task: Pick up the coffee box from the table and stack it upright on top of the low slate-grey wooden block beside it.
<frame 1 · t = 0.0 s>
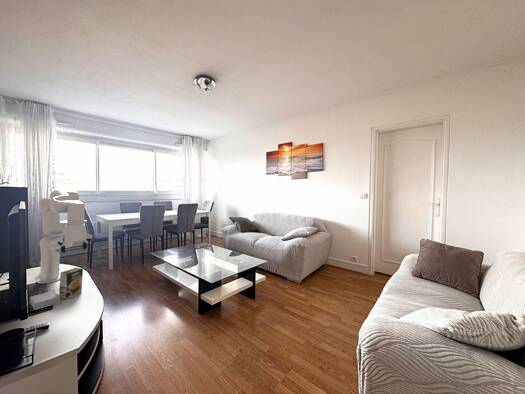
hand: (74, 250, 124), 31 cm above the tv stand, fingers open, 9 cm apart
coffee box: (70, 295, 132), on the tv stand
base block: (44, 304, 120), on the tv stand
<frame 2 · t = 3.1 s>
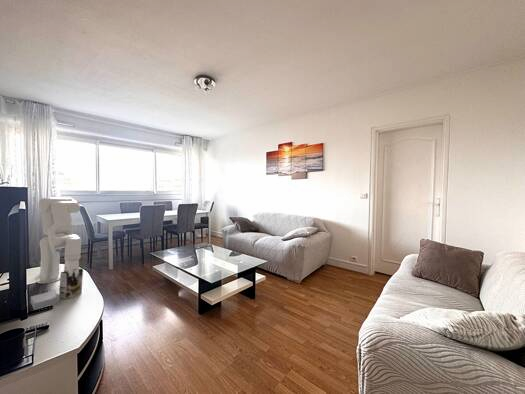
hand: (71, 283, 131), 8 cm above the tv stand, fingers closed on coffee box, 8 cm apart
coffee box: (70, 295, 132), on the tv stand, touching gripper
everything else where it was.
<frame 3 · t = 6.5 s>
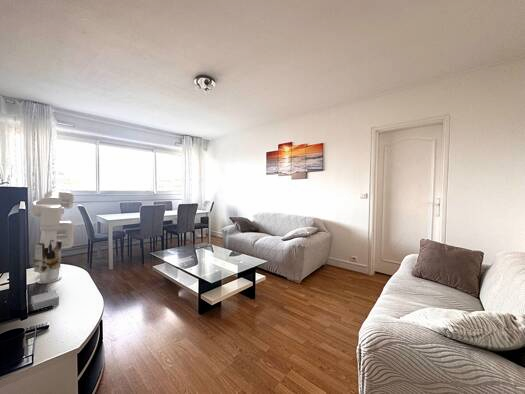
hand: (48, 257, 120), 28 cm above the tv stand, fingers closed on coffee box, 8 cm apart
coffee box: (47, 270, 120), point 20 cm above the tv stand, touching gripper
everything else where it was.
when the fingers open (14 cm above the tv stand, at t = 10.2 s): coffee box drops 1 cm, point 5 cm above the tv stand.
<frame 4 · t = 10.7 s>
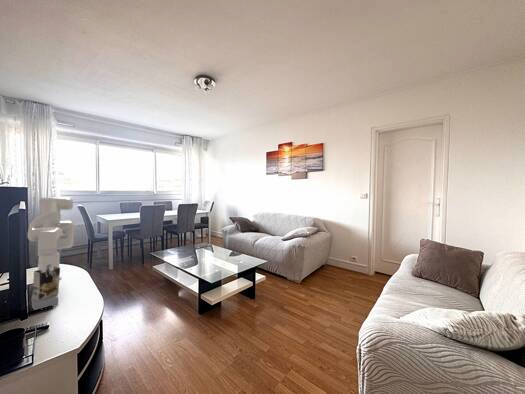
hand: (46, 280, 120), 14 cm above the tv stand, fingers open, 9 cm apart
coffee box: (45, 296, 121), point 5 cm above the tv stand
everything else where it was.
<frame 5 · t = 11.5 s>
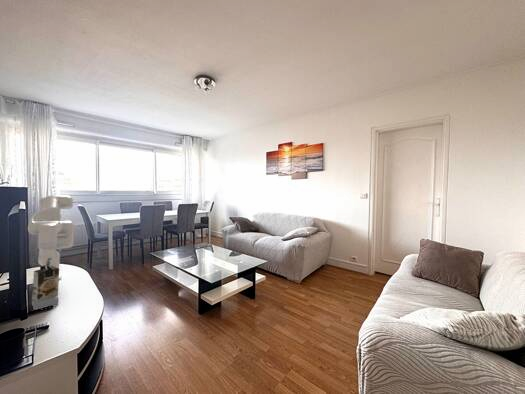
hand: (46, 273, 120), 18 cm above the tv stand, fingers open, 9 cm apart
coffee box: (45, 296, 120), point 4 cm above the tv stand, touching base block
base block: (45, 304, 121), on the tv stand, touching coffee box
everything else where it was.
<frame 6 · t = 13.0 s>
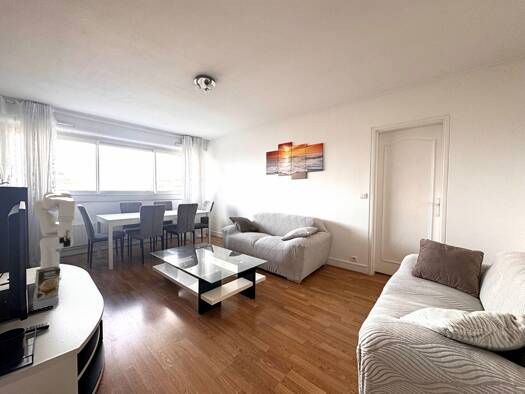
hand: (64, 244, 132), 32 cm above the tv stand, fingers open, 9 cm apart
coffee box: (46, 296, 121), point 5 cm above the tv stand
base block: (45, 304, 121), on the tv stand
everything else where it was.
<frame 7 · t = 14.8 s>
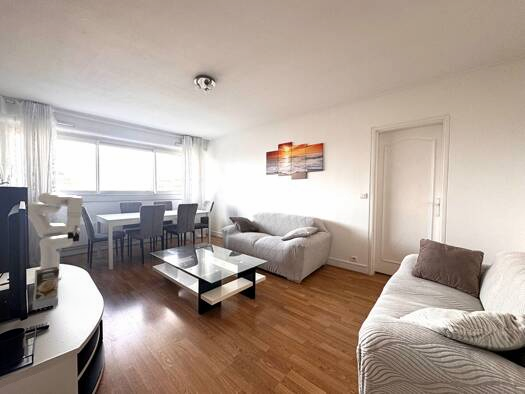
hand: (73, 239, 139), 33 cm above the tv stand, fingers open, 9 cm apart
at the end: coffee box inside the target area on the base block (0.3 cm from its centre), point 5.0 cm above the base block's base; coffee box tilted 4°; the gripper is holding nothing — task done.
